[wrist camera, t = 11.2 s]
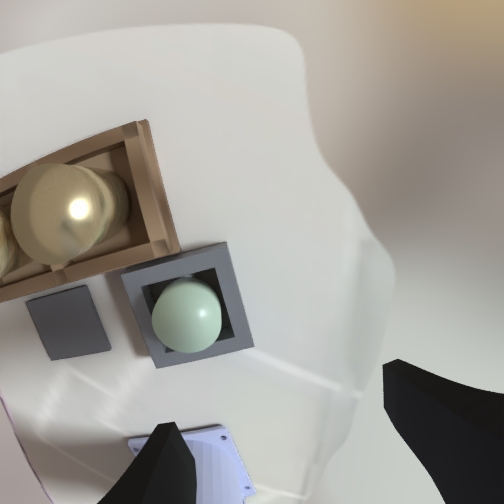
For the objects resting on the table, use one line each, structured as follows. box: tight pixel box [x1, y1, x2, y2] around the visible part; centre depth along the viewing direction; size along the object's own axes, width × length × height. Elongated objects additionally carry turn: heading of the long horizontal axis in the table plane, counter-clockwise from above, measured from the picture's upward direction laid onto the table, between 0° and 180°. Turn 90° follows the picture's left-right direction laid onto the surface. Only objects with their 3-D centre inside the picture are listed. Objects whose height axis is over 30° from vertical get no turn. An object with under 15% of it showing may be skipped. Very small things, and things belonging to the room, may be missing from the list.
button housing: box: [121, 242, 254, 369], centre depth 18 cm, size 6×6×2 cm
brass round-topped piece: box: [11, 163, 132, 265], centre depth 14 cm, size 4×4×6 cm
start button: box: [152, 278, 221, 353], centre depth 17 cm, size 4×4×2 cm
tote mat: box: [26, 285, 112, 361], centre depth 18 cm, size 4×5×1 cm
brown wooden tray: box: [0, 119, 181, 303], centre depth 16 cm, size 8×14×2 cm, turn 103°
